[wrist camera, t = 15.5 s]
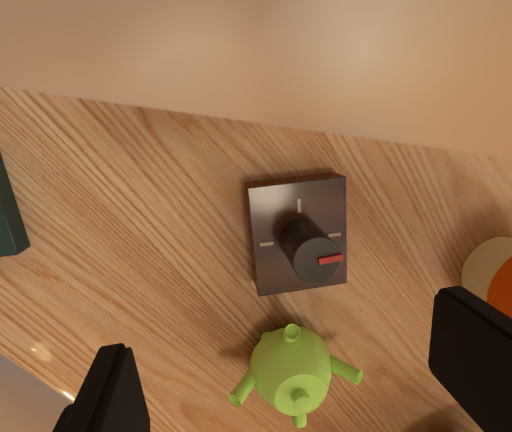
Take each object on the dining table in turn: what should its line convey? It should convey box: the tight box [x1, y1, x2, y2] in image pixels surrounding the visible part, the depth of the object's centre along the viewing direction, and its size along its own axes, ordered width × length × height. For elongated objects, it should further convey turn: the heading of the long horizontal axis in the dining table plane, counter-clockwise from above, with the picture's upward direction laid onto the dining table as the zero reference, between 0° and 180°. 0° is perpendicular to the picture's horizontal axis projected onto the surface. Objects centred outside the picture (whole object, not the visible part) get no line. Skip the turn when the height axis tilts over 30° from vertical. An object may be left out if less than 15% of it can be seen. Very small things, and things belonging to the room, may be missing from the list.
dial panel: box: [244, 172, 347, 296], centre depth 34 cm, size 12×10×3 cm
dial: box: [280, 219, 343, 283], centre depth 30 cm, size 4×4×6 cm
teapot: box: [229, 324, 362, 428], centre depth 36 cm, size 11×12×8 cm
